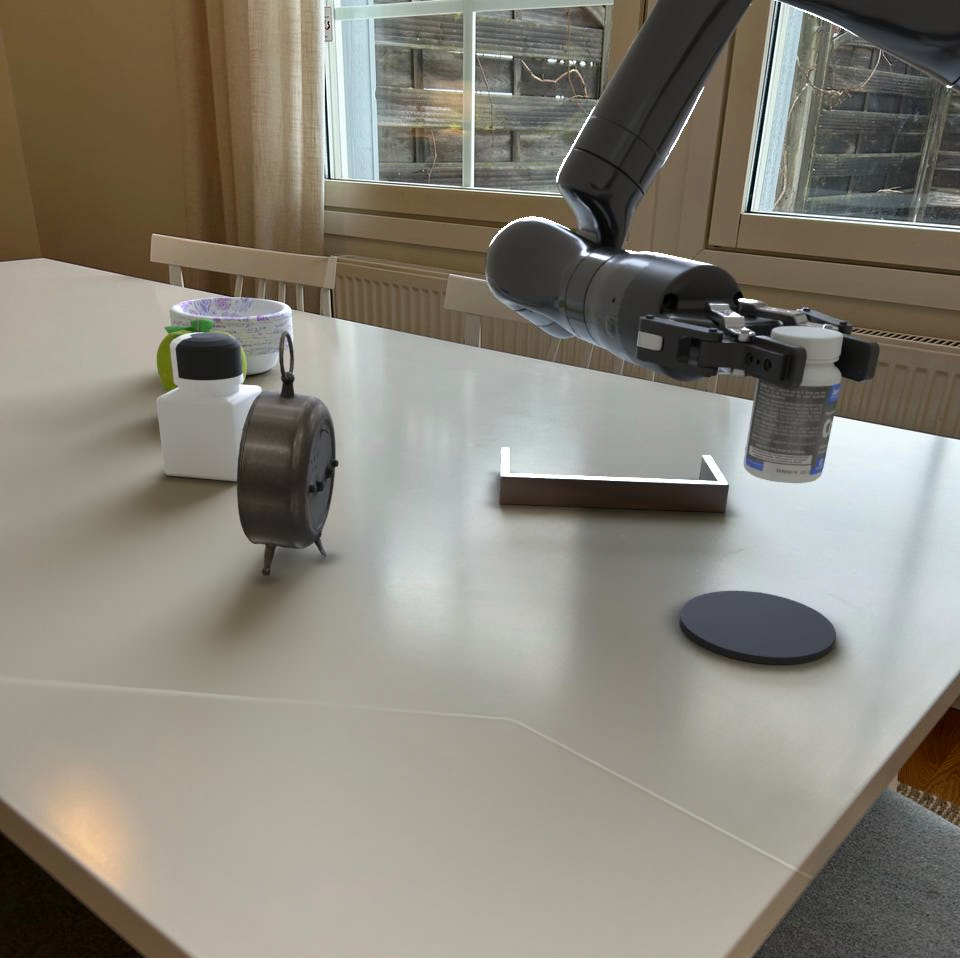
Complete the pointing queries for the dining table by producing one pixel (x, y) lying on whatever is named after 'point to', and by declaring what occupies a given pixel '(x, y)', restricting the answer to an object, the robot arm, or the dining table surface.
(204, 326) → the fruit
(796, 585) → the dining table surface
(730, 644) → the coaster
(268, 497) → the alarm clock
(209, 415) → the medicine bottle
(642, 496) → the bracket
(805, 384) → the pill bottle
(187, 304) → the white round bowl
